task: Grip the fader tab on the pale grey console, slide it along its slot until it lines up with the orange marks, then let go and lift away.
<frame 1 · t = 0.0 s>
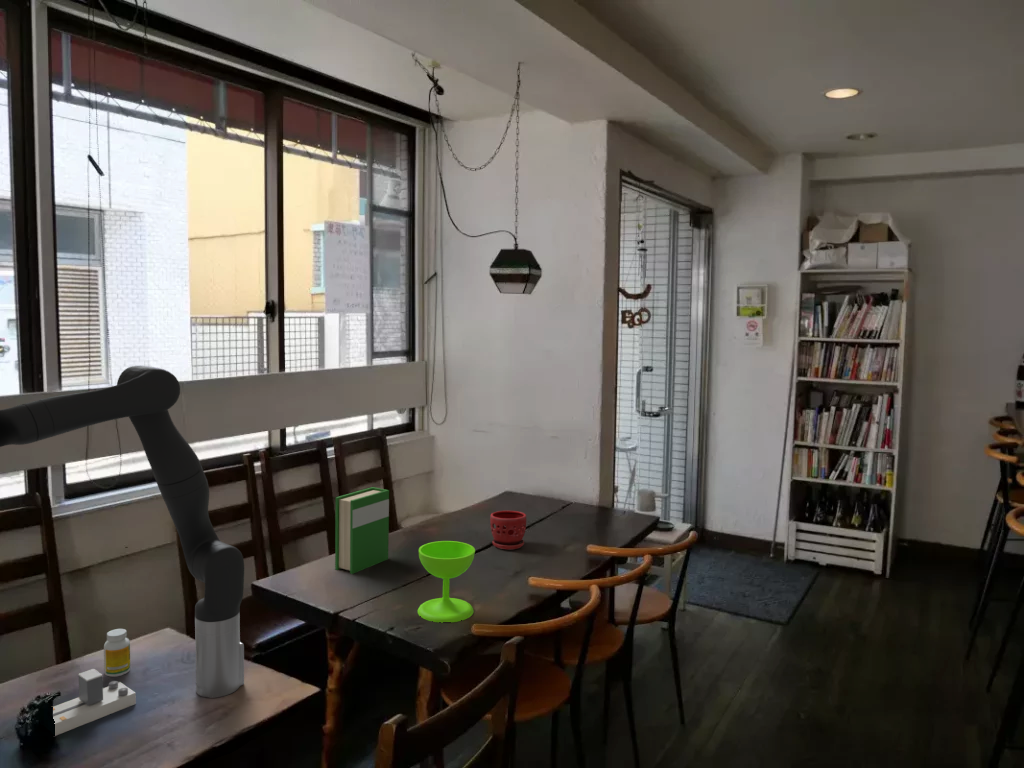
plant pot: (507, 546, 274), on the table
supplement bottle: (117, 672, 174), on the table
hardback book: (362, 564, 250), on the table
fader tab: (90, 687, 156), point 6 cm above the table, slide at 0.0 cm
console: (89, 713, 156), on the table
wineglass: (445, 611, 214), on the table
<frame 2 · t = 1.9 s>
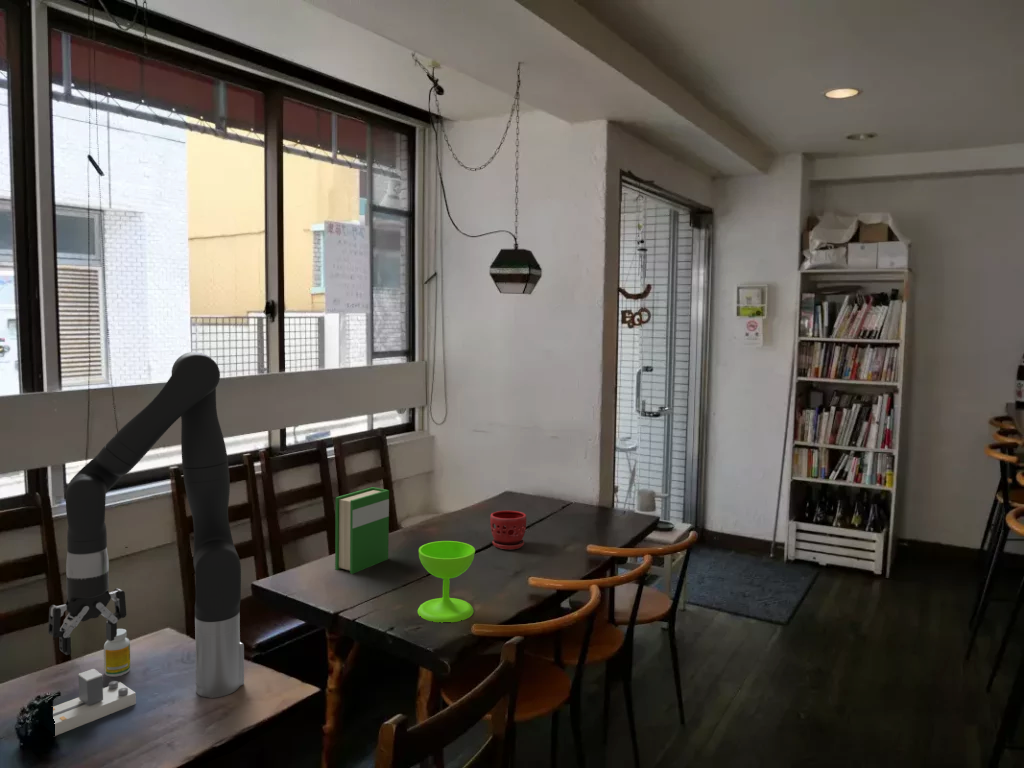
hand: (88, 646, 155), 14 cm above the table, tool pointing down, fingers open, 8 cm apart
nothing on the table moved.
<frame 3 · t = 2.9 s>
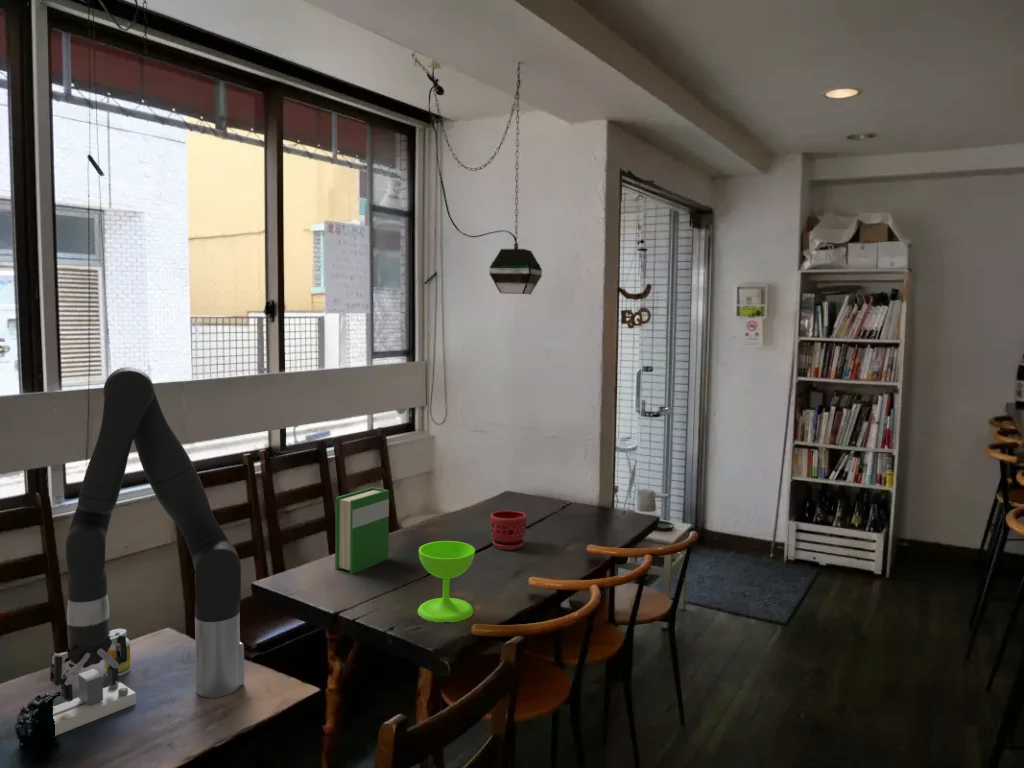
hand: (90, 692, 156), 4 cm above the table, tool pointing down, fingers open, 8 cm apart
nothing on the table moved.
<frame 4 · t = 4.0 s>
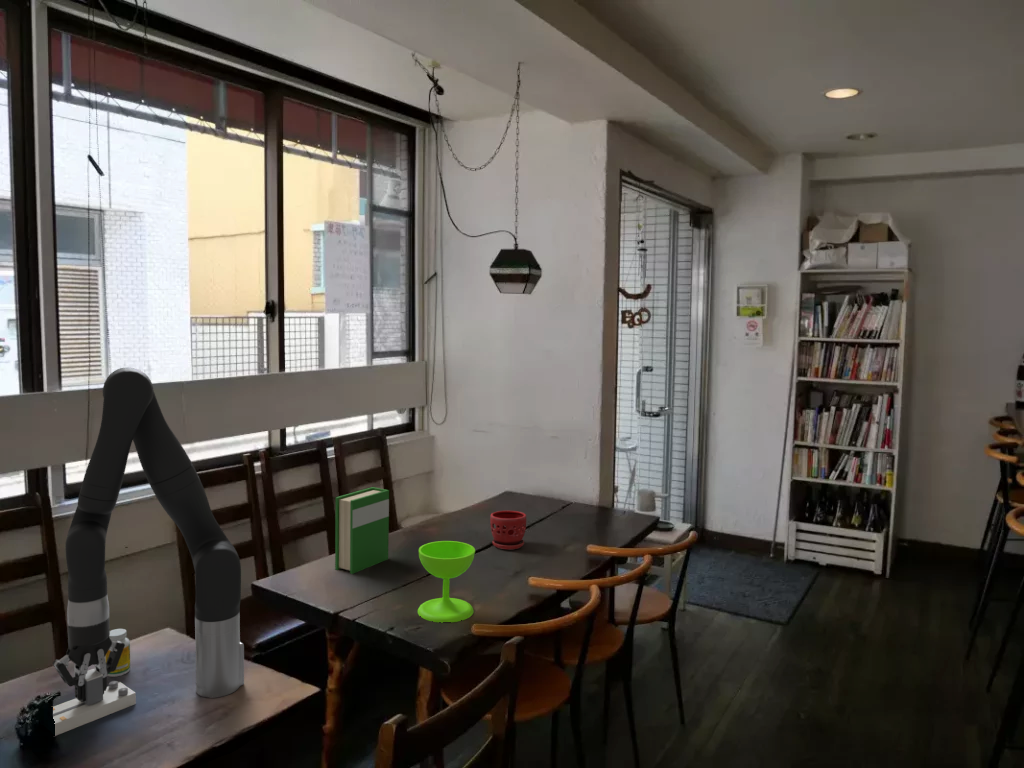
hand: (91, 696, 156), 3 cm above the table, tool pointing down, fingers closed on fader tab, 3 cm apart
fader tab: (90, 686, 156), point 6 cm above the table, slide at 0.0 cm, touching gripper
everything else where it was.
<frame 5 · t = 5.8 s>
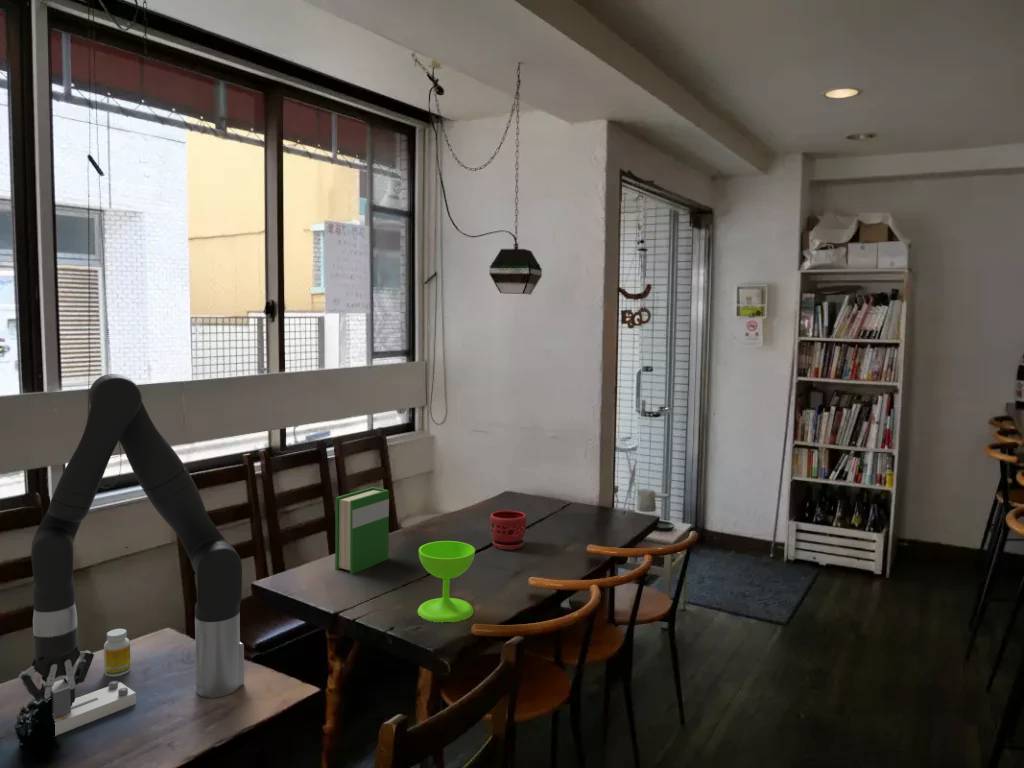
hand: (58, 708, 151), 3 cm above the table, tool pointing down, fingers closed on fader tab, 3 cm apart
fader tab: (58, 698, 151), point 6 cm above the table, slide at 6.2 cm, touching gripper
everything else where it was.
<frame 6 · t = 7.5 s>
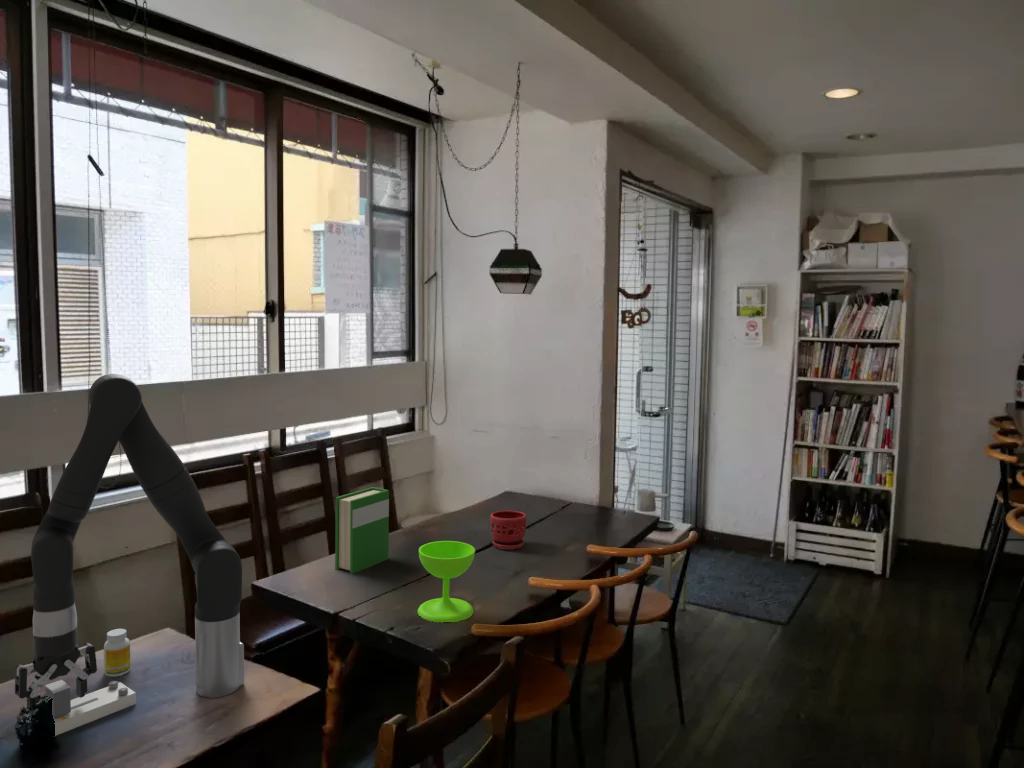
hand: (58, 704, 151), 4 cm above the table, tool pointing down, fingers open, 8 cm apart
fader tab: (58, 698, 151), point 6 cm above the table, slide at 6.3 cm
everything else where it was.
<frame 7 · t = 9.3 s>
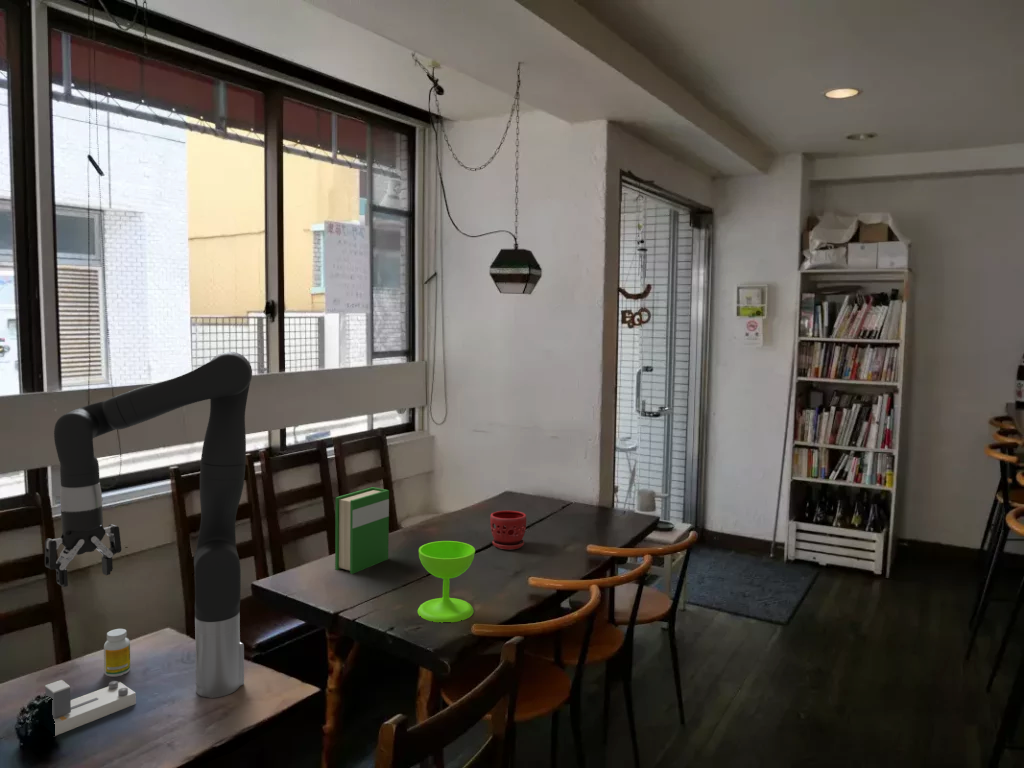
hand: (85, 580, 158), 27 cm above the table, tool pointing down, fingers open, 8 cm apart
nothing on the table moved.
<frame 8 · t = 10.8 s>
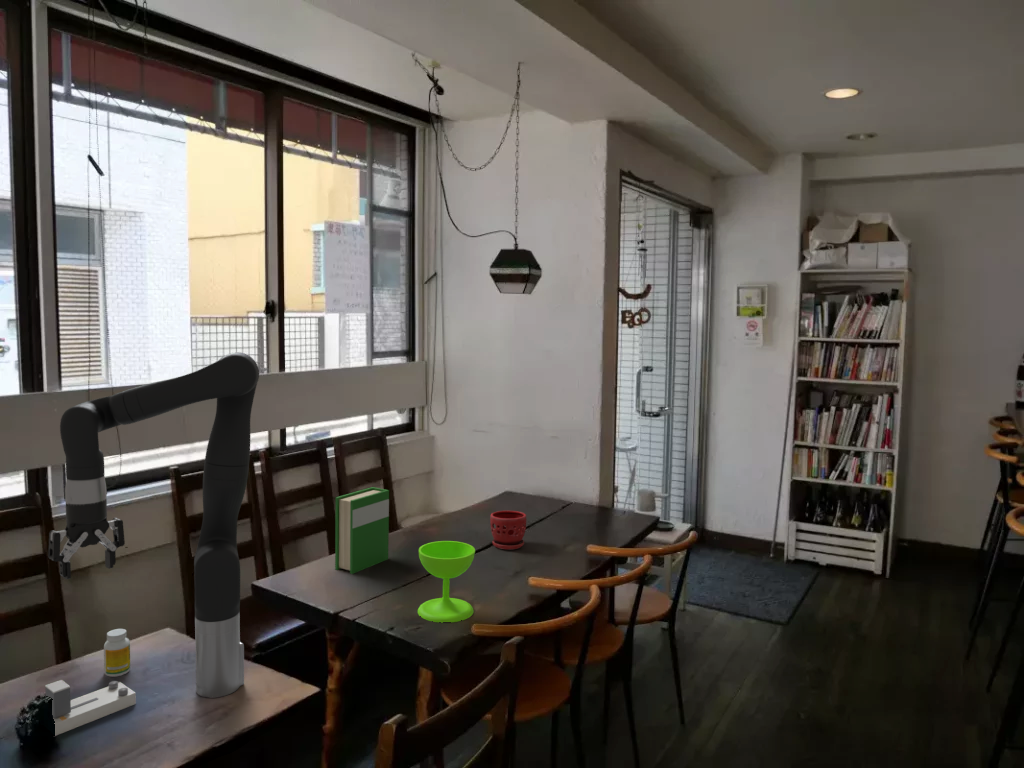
hand: (88, 572, 159), 28 cm above the table, tool pointing down, fingers open, 8 cm apart
nothing on the table moved.
at the end: fader tab slide at 6.3 cm; the gripper is holding nothing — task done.
